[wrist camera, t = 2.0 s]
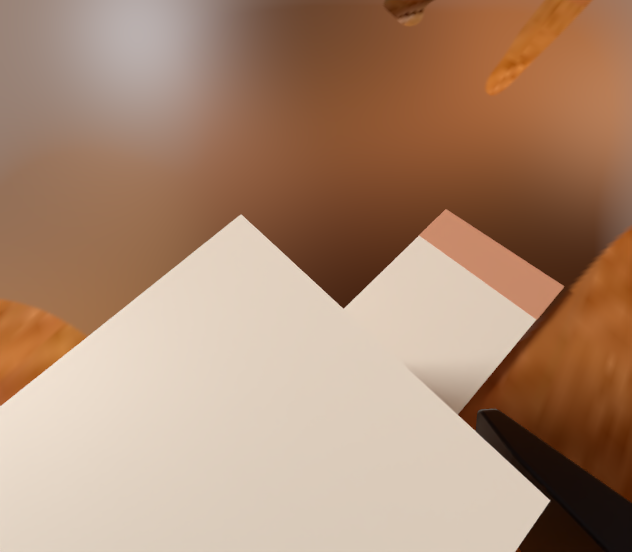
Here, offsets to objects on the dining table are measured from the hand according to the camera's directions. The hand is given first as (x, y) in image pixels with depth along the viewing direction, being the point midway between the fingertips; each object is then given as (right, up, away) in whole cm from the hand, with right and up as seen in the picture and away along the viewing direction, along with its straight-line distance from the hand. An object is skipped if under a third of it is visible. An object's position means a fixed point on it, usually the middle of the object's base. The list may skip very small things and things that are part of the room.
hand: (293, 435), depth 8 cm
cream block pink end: (+7, +2, +9) cm, 11 cm away
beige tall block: (+1, -3, +7) cm, 8 cm away
